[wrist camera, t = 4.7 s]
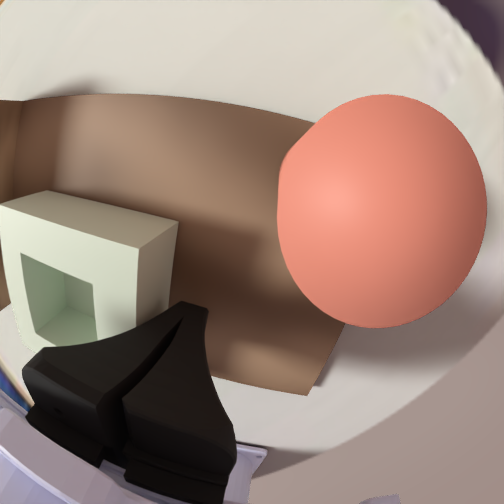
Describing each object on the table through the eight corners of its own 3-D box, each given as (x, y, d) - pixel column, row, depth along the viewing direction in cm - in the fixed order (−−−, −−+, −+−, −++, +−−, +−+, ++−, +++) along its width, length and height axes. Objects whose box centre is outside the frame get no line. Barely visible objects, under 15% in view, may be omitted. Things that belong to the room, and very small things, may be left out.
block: (164, 362, 14) (140, 408, 10) (55, 315, 14) (22, 344, 10) (178, 221, 11) (138, 249, 8) (47, 190, 11) (-2, 204, 8)
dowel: (351, 232, 10) (436, 340, 4) (269, 210, 10) (249, 302, 4) (375, 151, 9) (504, 155, 3) (290, 124, 9) (311, 59, 3)
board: (306, 386, 14) (310, 471, 9) (14, 282, 15) (-36, 316, 9) (396, 155, 10) (483, 161, 4) (16, 104, 10) (-50, 105, 5)
